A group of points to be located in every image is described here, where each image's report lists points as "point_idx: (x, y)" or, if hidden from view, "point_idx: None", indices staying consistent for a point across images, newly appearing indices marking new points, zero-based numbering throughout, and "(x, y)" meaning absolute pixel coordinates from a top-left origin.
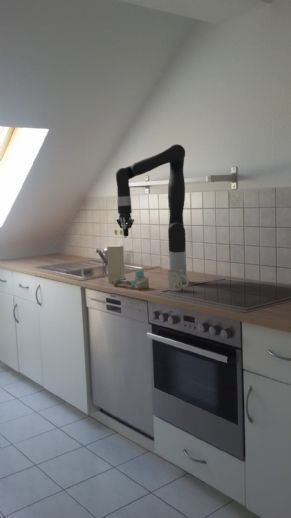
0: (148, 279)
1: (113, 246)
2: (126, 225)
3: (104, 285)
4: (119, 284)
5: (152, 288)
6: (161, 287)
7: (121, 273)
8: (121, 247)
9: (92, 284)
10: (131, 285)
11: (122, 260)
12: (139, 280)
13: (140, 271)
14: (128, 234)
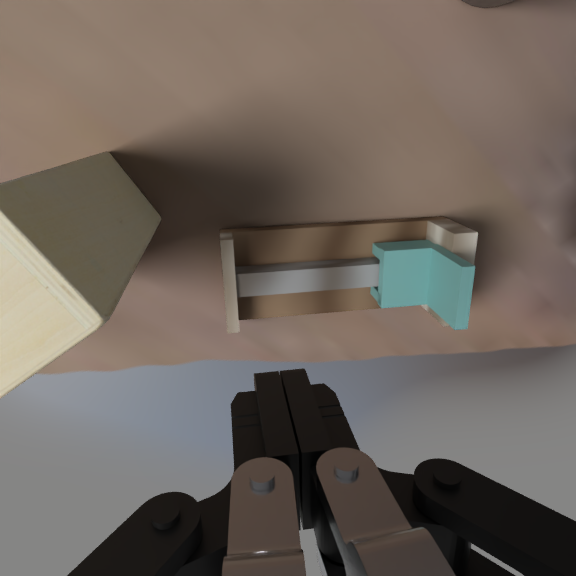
0: (468, 228)
1: (18, 368)
2: (300, 549)
3: (152, 334)
4: (267, 305)
5: (472, 216)
6: (500, 162)
7: (146, 222)
8: (62, 261)
9: (55, 362)
10: (372, 293)
11: (96, 210)
12: None
13: (469, 293)
14: (332, 391)
